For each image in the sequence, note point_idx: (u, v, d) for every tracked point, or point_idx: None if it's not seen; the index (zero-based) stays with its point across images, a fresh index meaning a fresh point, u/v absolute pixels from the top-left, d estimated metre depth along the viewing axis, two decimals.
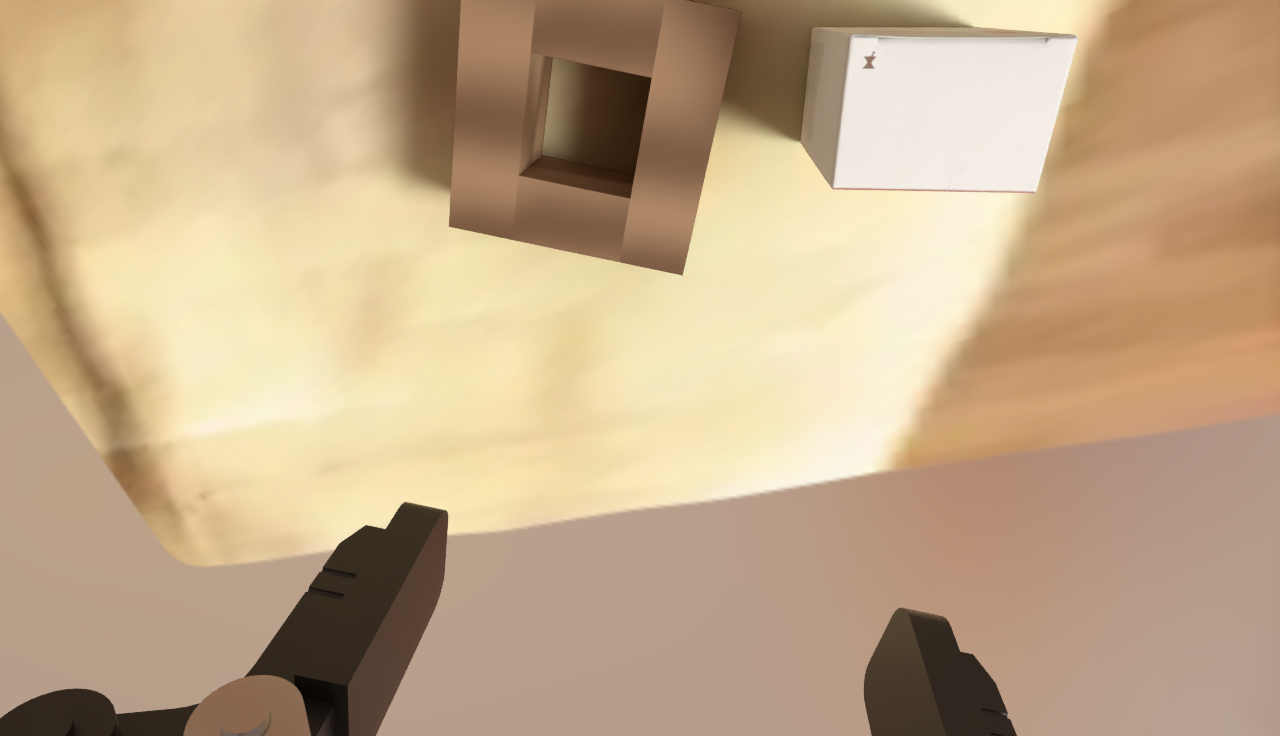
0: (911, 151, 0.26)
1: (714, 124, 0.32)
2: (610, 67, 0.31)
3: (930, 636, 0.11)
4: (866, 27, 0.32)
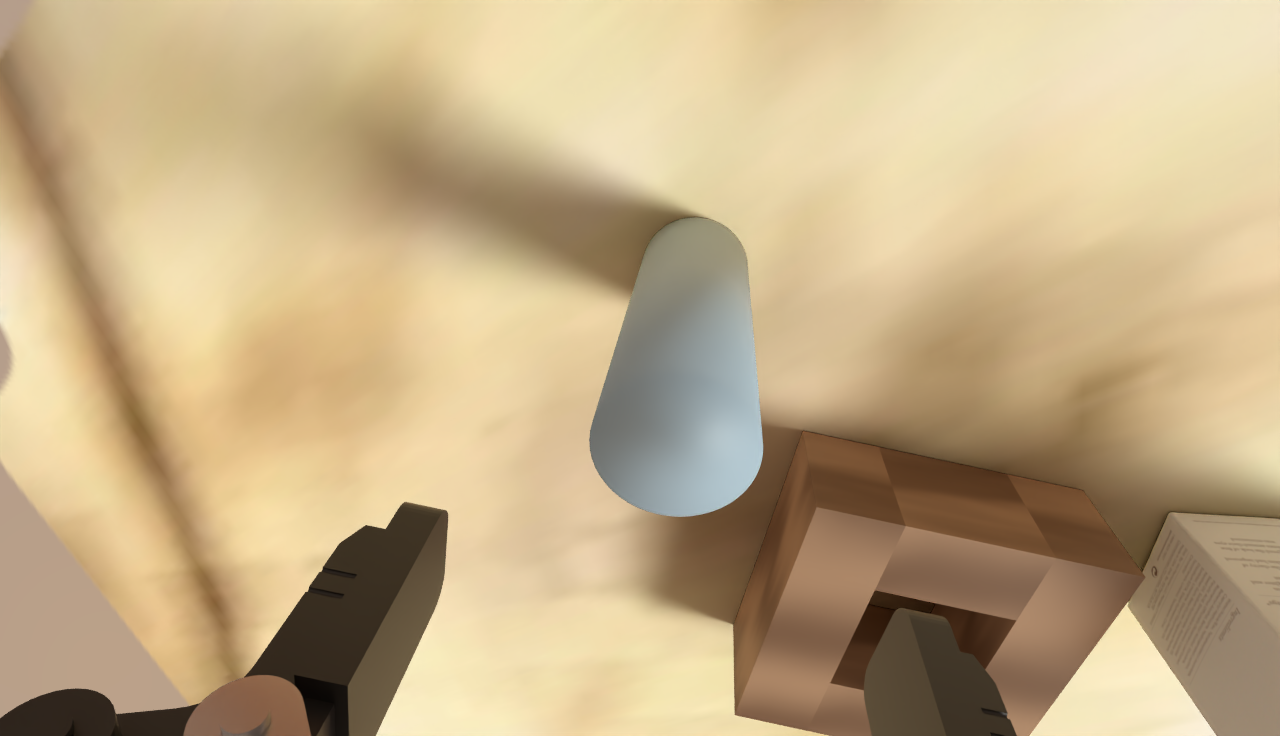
0: None
1: (1080, 662, 0.27)
2: (968, 608, 0.27)
3: (930, 636, 0.11)
4: (1252, 540, 0.28)
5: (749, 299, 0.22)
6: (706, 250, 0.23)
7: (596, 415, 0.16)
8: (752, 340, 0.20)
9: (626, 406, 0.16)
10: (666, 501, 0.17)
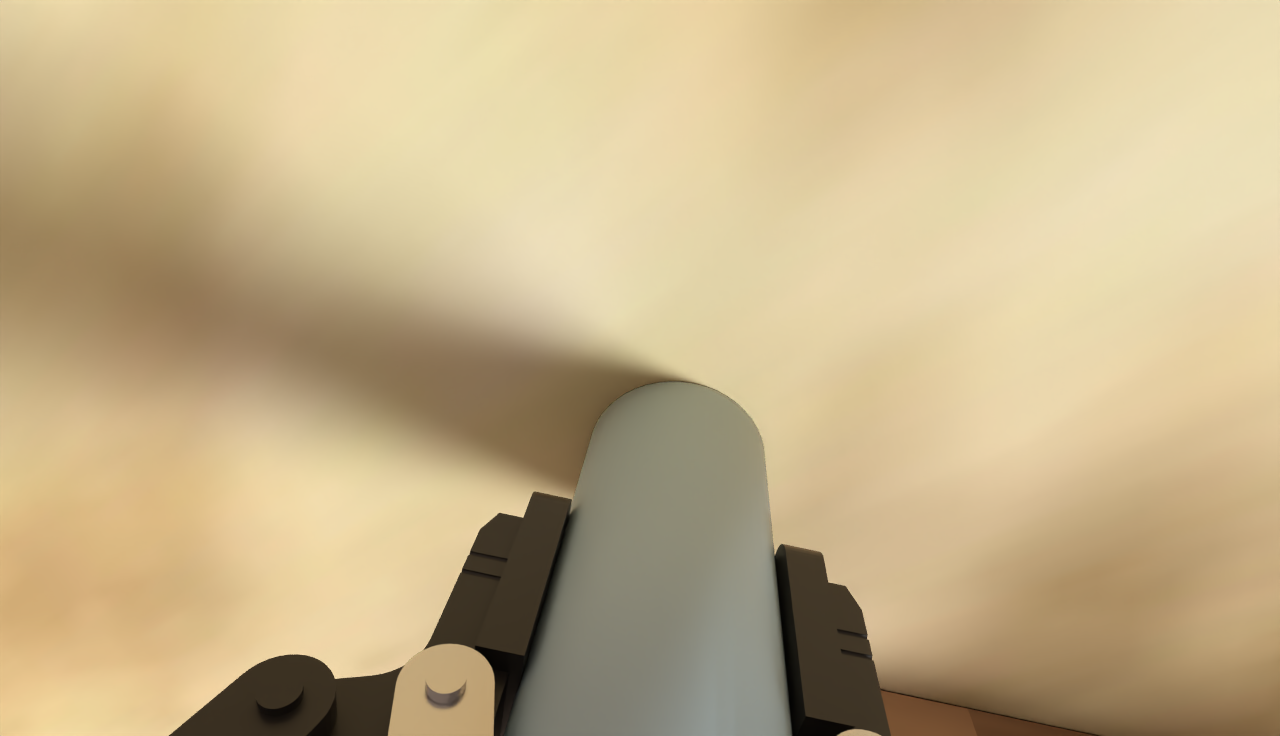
0: None
1: None
2: None
3: (802, 567, 0.12)
4: None
5: (775, 585, 0.12)
6: (692, 486, 0.12)
7: None
8: None
9: None
10: None
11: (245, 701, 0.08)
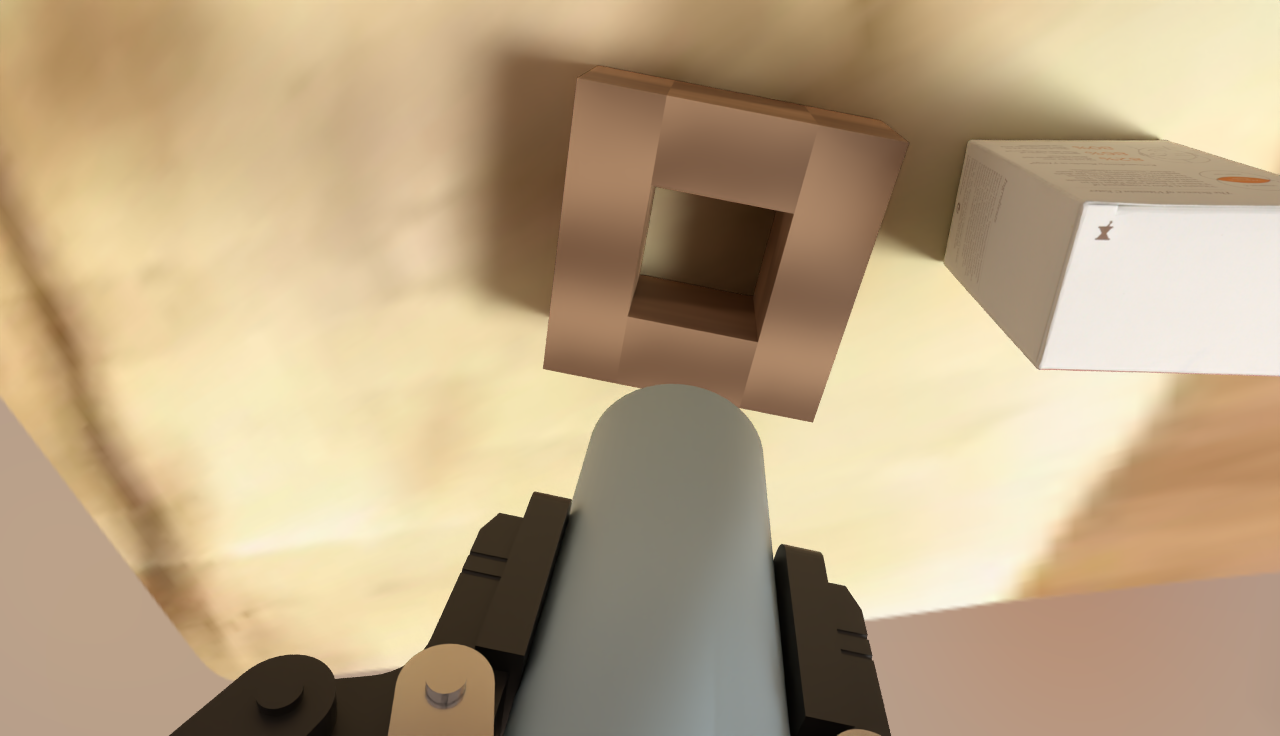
0: (1144, 331, 0.22)
1: (865, 264, 0.27)
2: (745, 202, 0.26)
3: (801, 567, 0.12)
4: (1040, 145, 0.27)
5: (774, 587, 0.12)
6: (690, 488, 0.12)
7: None
8: None
9: None
10: None
11: (245, 701, 0.08)
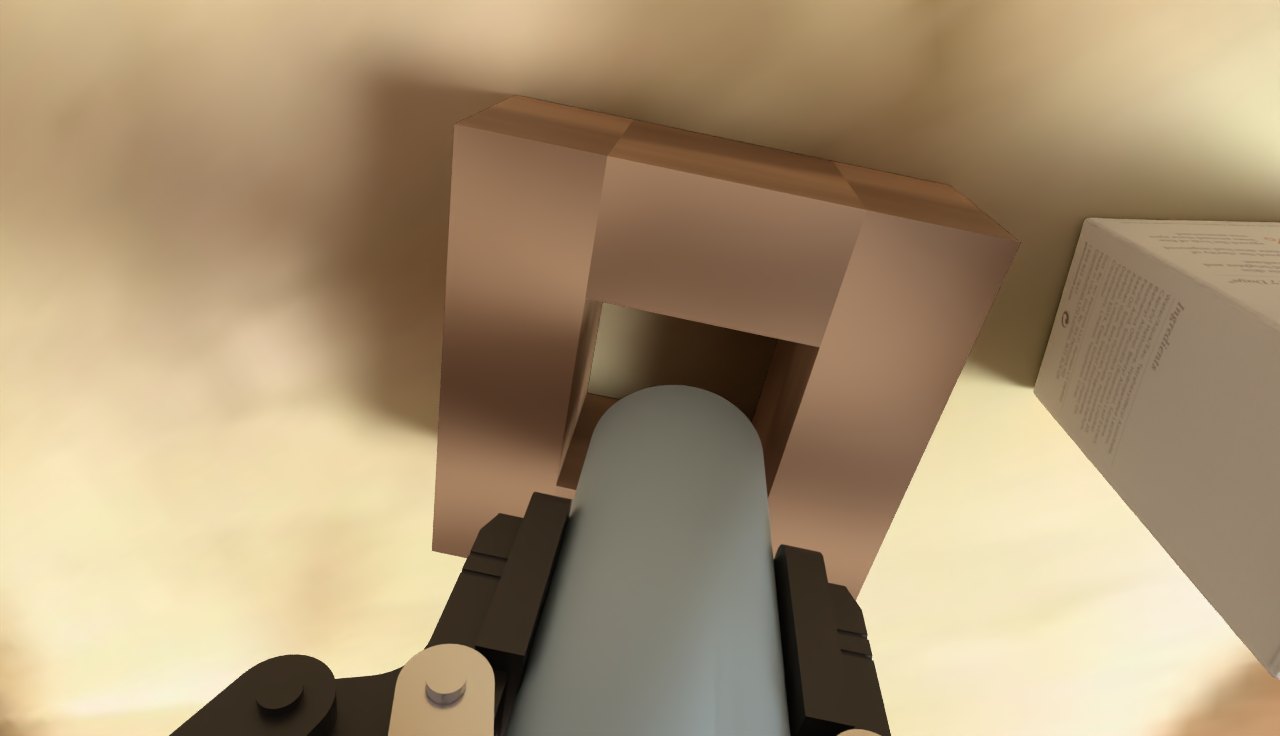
0: None
1: (932, 425, 0.17)
2: (740, 327, 0.16)
3: (802, 567, 0.12)
4: (1210, 234, 0.17)
5: (774, 588, 0.12)
6: (691, 490, 0.12)
7: None
8: None
9: None
10: None
11: (245, 701, 0.08)
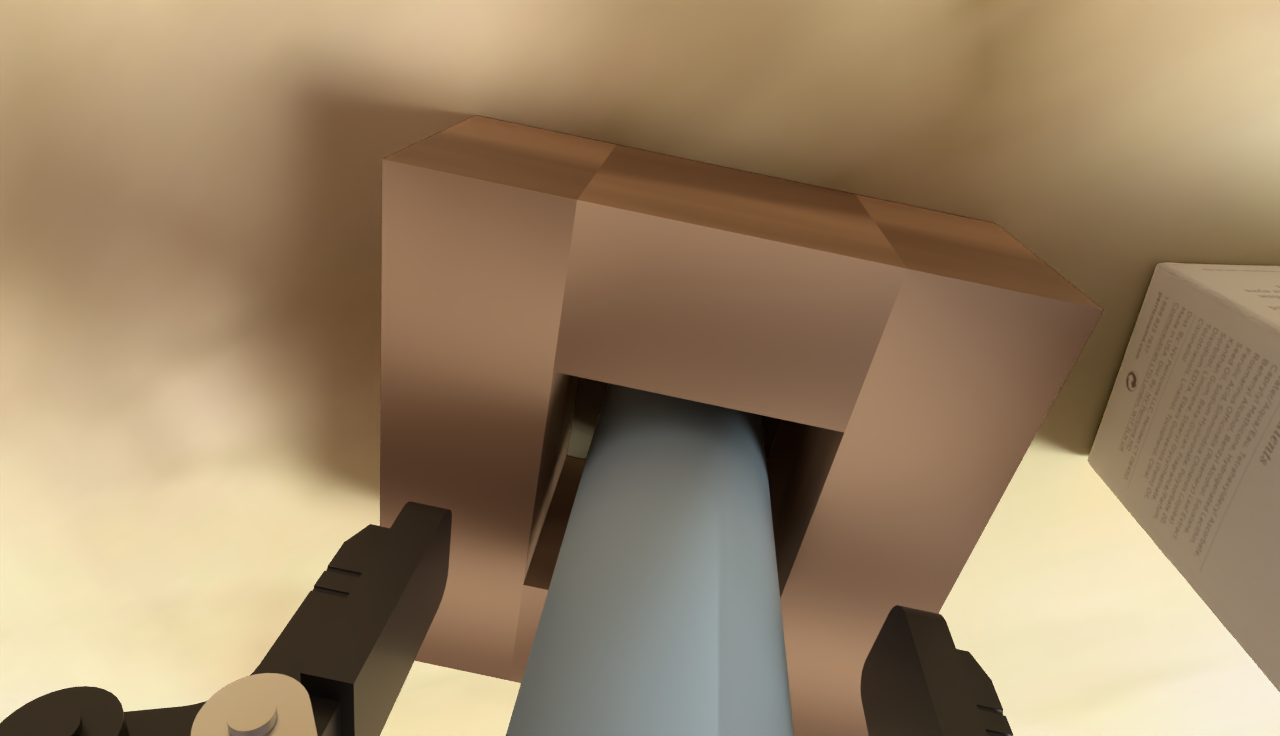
0: None
1: (981, 524, 0.14)
2: (745, 408, 0.13)
3: (926, 633, 0.11)
4: None
5: (766, 479, 0.14)
6: None
7: None
8: (776, 588, 0.12)
9: None
10: None
11: None
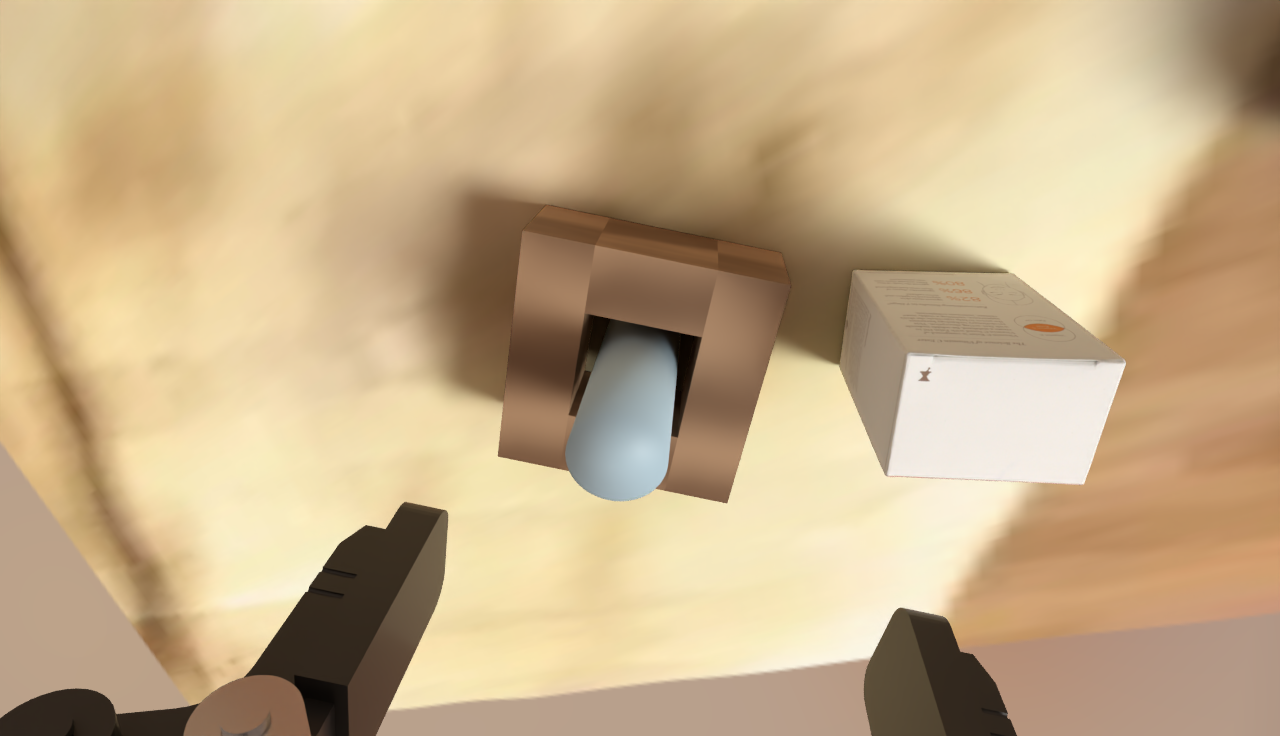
0: (964, 449, 0.27)
1: (762, 377, 0.33)
2: (662, 327, 0.32)
3: (930, 636, 0.11)
4: (907, 279, 0.33)
5: (674, 361, 0.33)
6: (646, 329, 0.34)
7: (569, 439, 0.27)
8: (671, 390, 0.31)
9: (586, 433, 0.27)
10: (612, 491, 0.28)
11: None
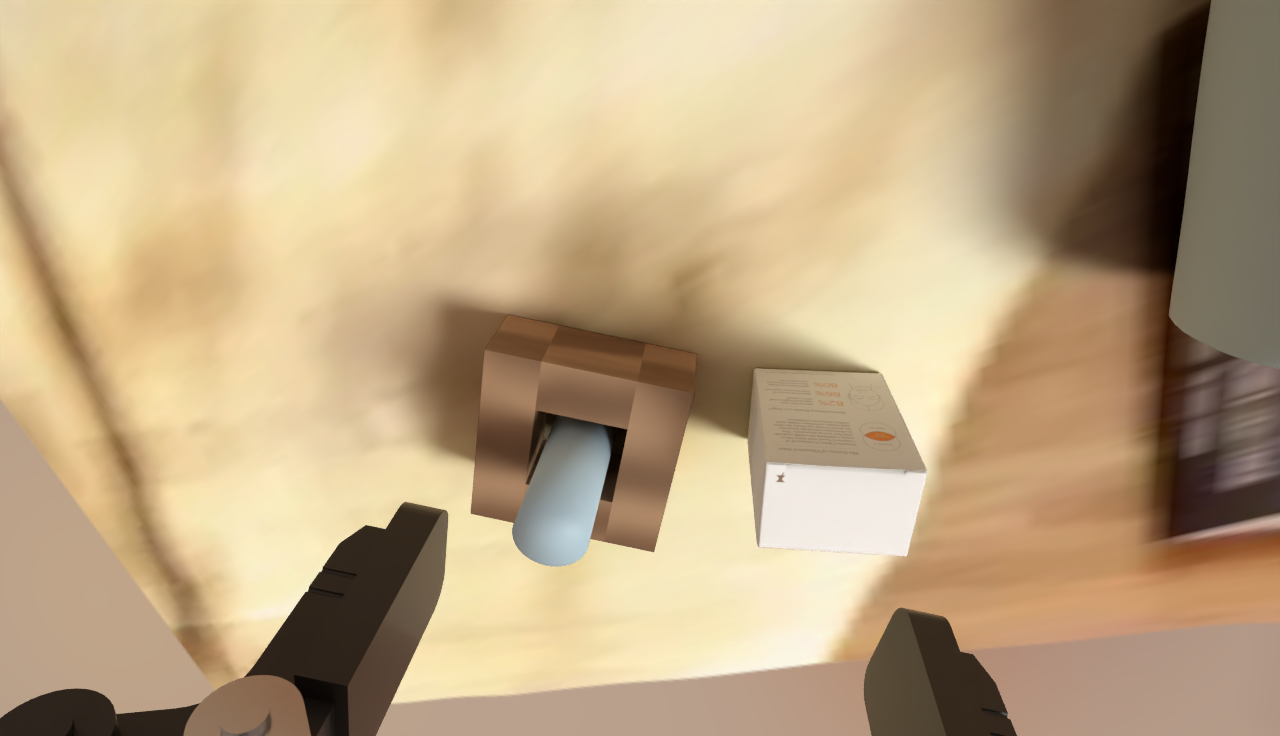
0: (814, 530, 0.36)
1: (675, 459, 0.41)
2: (596, 421, 0.41)
3: (930, 636, 0.11)
4: (793, 380, 0.42)
5: (607, 445, 0.42)
6: None
7: (514, 522, 0.36)
8: (599, 475, 0.39)
9: (527, 519, 0.36)
10: (549, 559, 0.37)
11: None
